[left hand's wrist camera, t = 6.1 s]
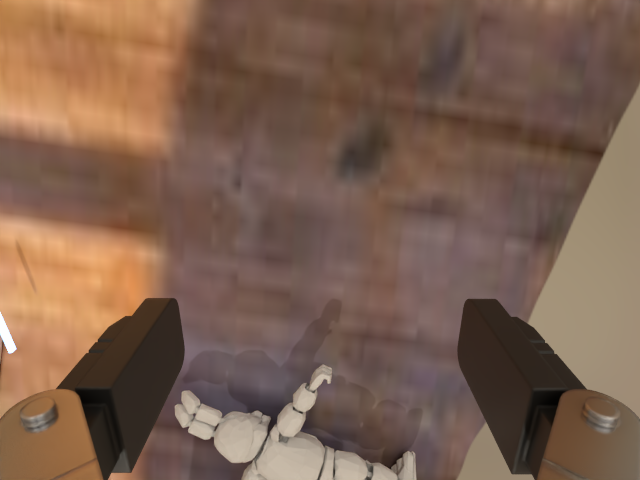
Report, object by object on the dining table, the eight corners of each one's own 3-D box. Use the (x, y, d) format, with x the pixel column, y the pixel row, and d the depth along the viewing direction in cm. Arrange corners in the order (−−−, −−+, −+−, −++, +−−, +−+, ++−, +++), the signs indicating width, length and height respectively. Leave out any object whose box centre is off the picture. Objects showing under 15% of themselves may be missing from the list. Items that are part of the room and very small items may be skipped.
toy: (369, 329, 46) (377, 369, 39) (420, 479, 54) (434, 532, 48) (174, 385, 49) (151, 430, 42) (252, 519, 57) (243, 574, 51)
